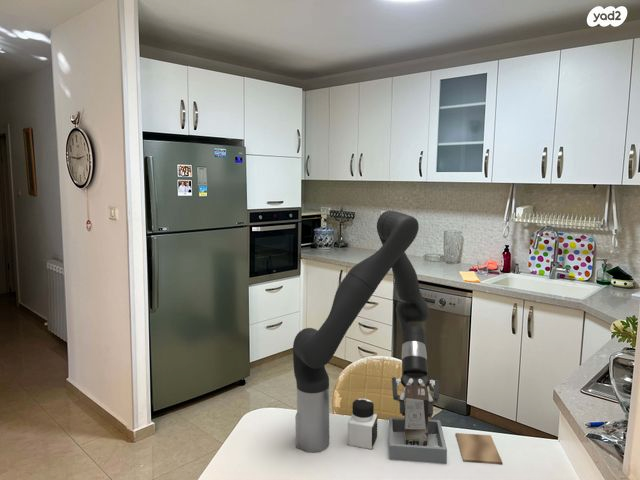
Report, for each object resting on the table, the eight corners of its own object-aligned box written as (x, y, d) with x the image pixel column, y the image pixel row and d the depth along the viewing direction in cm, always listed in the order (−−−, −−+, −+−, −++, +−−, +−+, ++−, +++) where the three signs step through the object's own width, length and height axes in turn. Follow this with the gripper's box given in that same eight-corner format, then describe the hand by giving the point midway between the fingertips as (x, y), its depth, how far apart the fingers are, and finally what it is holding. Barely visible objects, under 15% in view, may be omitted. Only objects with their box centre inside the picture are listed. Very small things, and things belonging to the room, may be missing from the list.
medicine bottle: (372, 450, 126) (372, 409, 125) (347, 445, 129) (347, 405, 127) (377, 436, 133) (377, 397, 132) (354, 432, 135) (354, 394, 134)
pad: (463, 461, 121) (463, 459, 121) (455, 434, 134) (455, 432, 134) (502, 464, 120) (502, 462, 119) (490, 437, 132) (490, 435, 132)
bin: (389, 459, 122) (389, 445, 122) (388, 429, 137) (388, 417, 136) (446, 463, 120) (447, 449, 120) (439, 432, 135) (440, 420, 134)
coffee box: (427, 456, 123) (429, 400, 121) (403, 453, 125) (404, 398, 123) (426, 437, 132) (428, 385, 130) (404, 435, 134) (405, 383, 131)
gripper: (390, 353, 135) (390, 410, 125) (439, 355, 134) (444, 413, 123) (390, 363, 141) (390, 418, 131) (437, 365, 139) (441, 421, 129)
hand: (416, 415), depth 127 cm, fingers closed on coffee box, 6 cm apart
